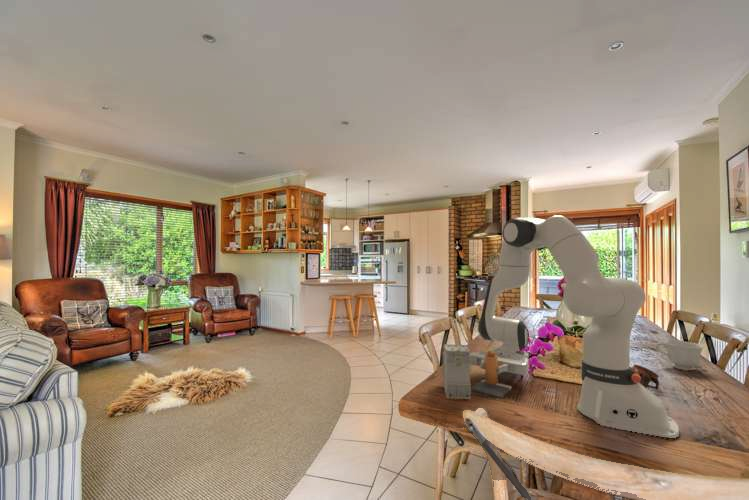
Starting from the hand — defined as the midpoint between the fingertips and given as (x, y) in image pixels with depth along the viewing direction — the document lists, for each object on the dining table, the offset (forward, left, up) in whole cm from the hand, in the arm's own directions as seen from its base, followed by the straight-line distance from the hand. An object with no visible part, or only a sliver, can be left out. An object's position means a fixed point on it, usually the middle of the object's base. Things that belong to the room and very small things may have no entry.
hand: (490, 368), depth 113 cm
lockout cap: (0, -1, -5) cm, 5 cm away
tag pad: (0, -1, -7) cm, 7 cm away
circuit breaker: (+9, +7, -8) cm, 14 cm away
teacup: (-52, -72, -8) cm, 89 cm away
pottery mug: (-40, -36, -8) cm, 54 cm away
